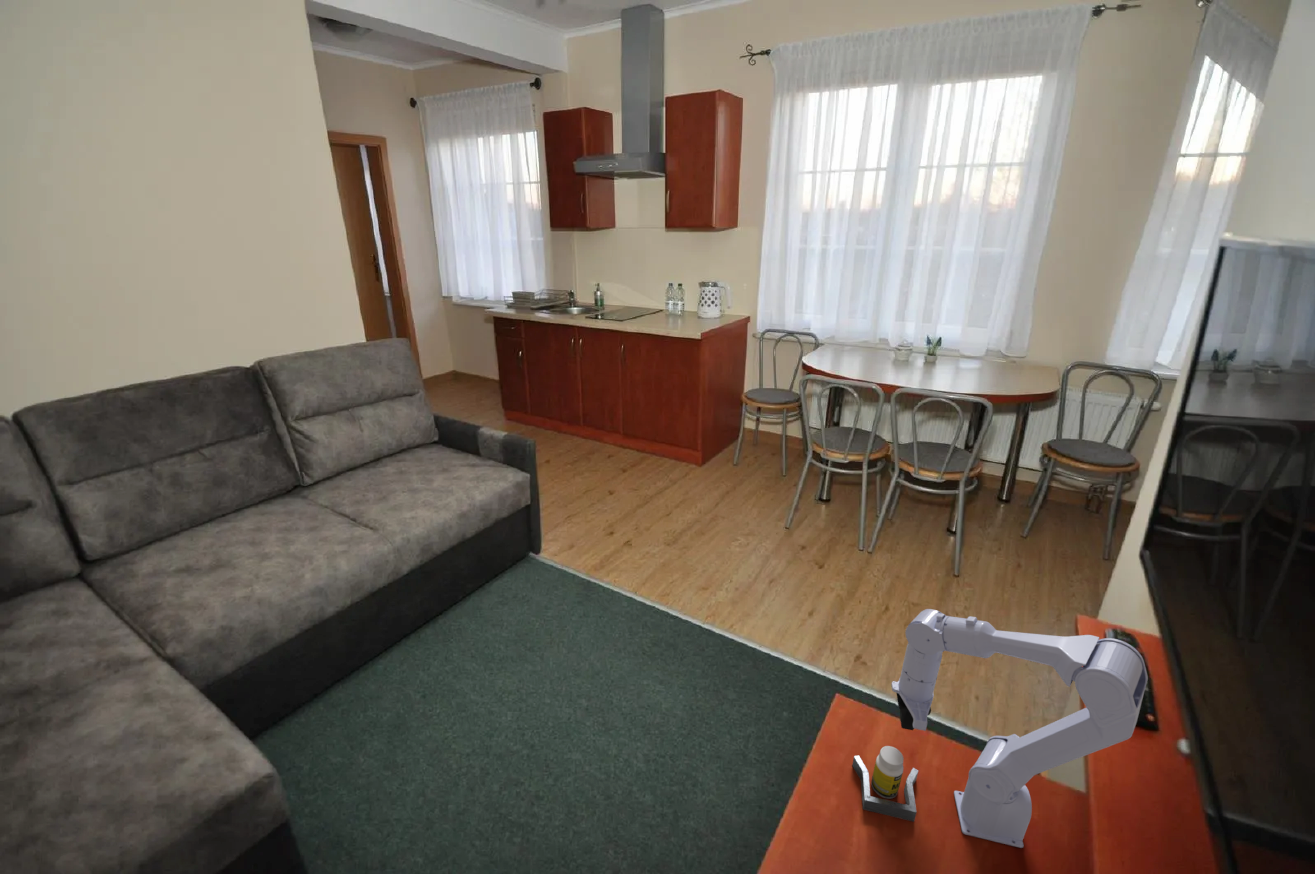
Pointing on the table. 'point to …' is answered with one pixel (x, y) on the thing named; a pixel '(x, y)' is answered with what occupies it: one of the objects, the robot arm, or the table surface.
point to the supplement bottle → (887, 772)
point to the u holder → (883, 805)
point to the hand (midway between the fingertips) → (906, 726)
